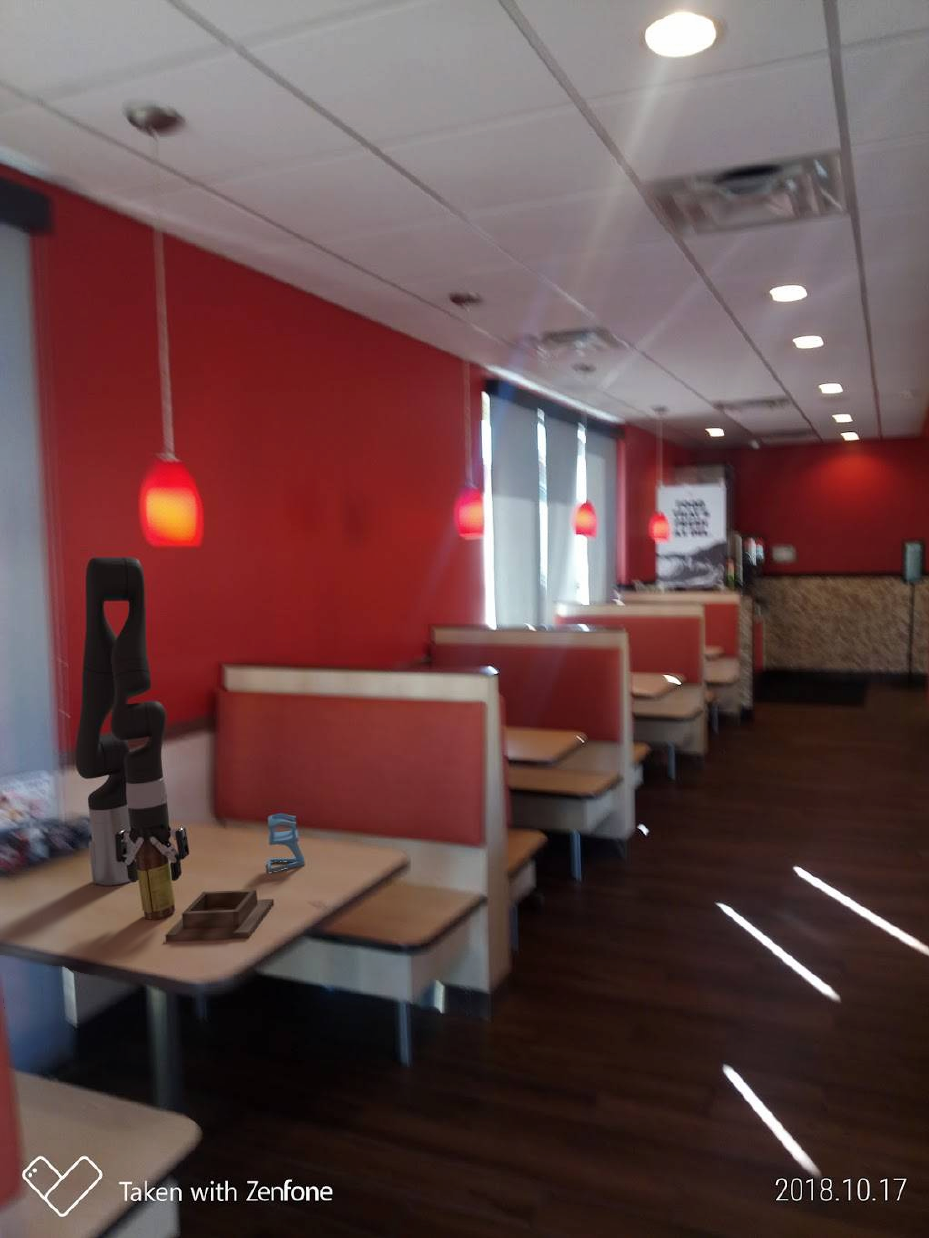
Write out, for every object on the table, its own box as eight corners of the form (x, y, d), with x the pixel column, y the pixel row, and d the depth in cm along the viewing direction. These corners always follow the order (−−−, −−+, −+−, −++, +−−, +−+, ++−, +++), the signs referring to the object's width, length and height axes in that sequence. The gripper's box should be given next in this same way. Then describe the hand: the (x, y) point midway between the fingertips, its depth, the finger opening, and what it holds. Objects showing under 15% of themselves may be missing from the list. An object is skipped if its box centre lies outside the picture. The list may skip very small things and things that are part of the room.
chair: (305, 868, 210) (300, 816, 209) (267, 874, 209) (263, 821, 208) (304, 858, 218) (299, 807, 217) (267, 863, 216) (263, 812, 215)
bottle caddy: (166, 941, 176) (163, 919, 175) (197, 907, 191) (195, 887, 191) (248, 938, 174) (246, 916, 174) (274, 904, 190) (272, 884, 190)
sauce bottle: (180, 908, 192) (170, 813, 190) (168, 920, 186) (157, 822, 184) (149, 909, 193) (140, 814, 191) (136, 921, 186) (126, 824, 185)
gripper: (104, 808, 184) (112, 888, 186) (174, 805, 183) (182, 885, 184) (121, 798, 192) (129, 875, 193) (188, 794, 190) (196, 872, 192)
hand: (155, 880), depth 189 cm, fingers open, 8 cm apart
